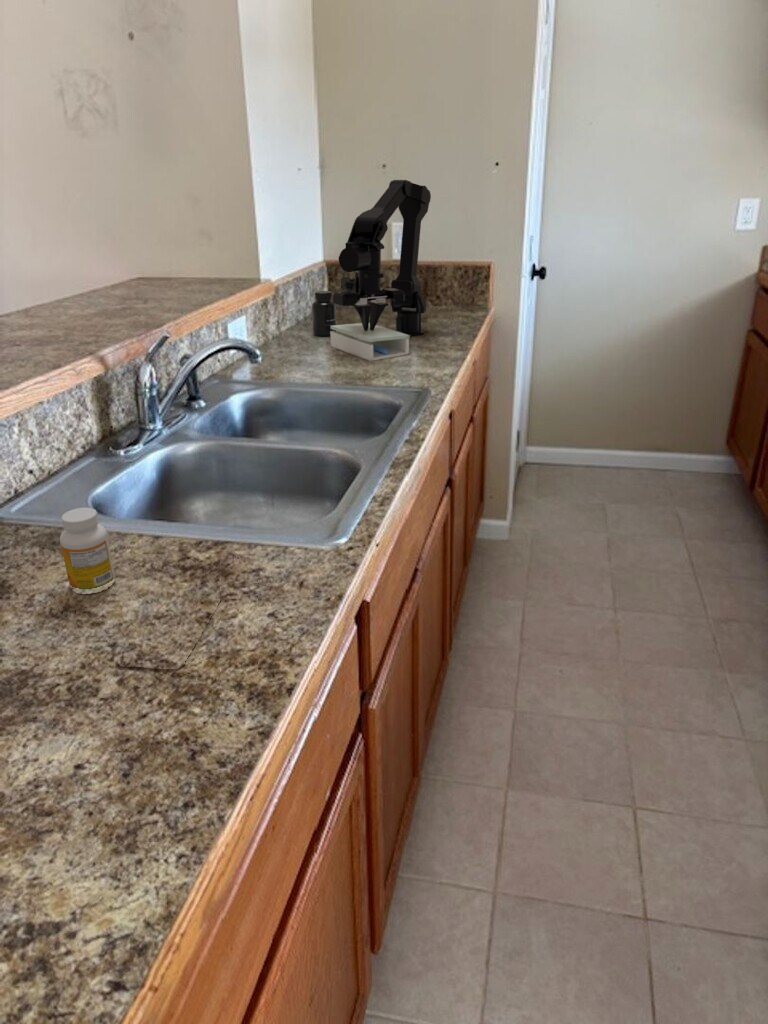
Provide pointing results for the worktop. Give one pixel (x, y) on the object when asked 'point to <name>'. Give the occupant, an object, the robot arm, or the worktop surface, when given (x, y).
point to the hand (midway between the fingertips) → (368, 330)
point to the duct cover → (369, 332)
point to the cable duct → (370, 347)
